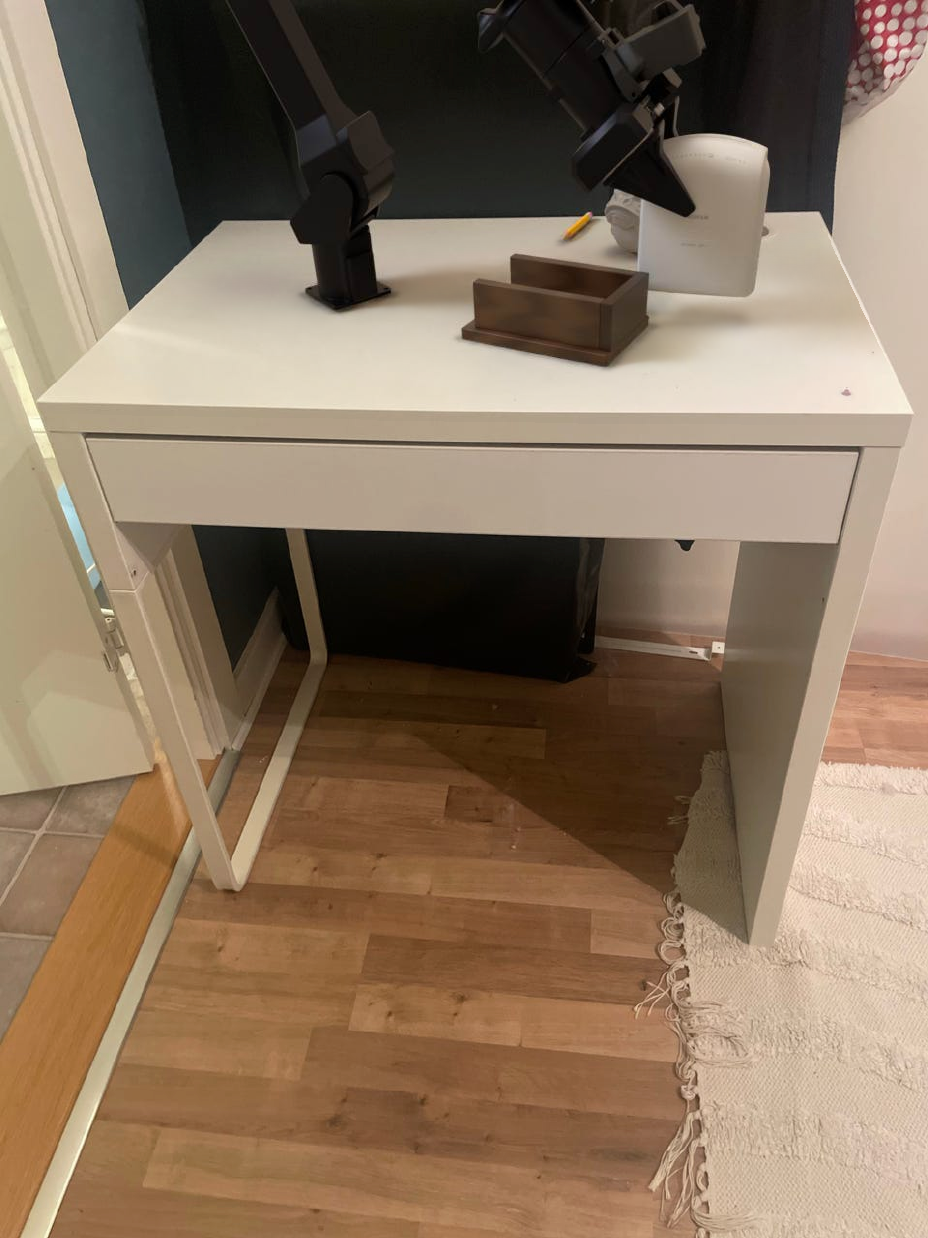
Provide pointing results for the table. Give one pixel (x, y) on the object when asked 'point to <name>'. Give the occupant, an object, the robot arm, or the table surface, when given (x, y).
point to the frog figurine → (624, 219)
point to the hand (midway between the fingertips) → (695, 204)
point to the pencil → (577, 225)
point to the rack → (561, 309)
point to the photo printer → (708, 219)
